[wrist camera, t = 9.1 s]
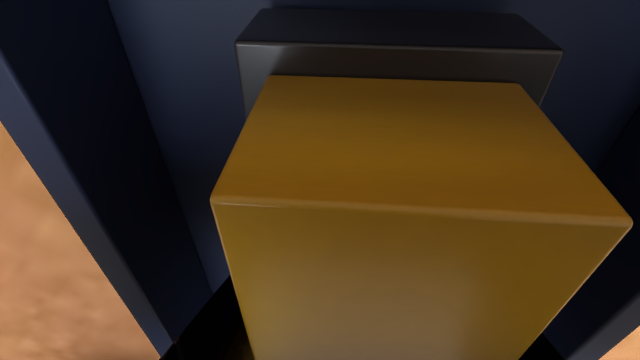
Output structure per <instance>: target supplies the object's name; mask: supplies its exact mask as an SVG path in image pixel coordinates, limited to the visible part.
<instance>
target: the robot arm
mask: <svg viewBox="0 0 640 360" xmlns="http://www.w3.org/2000/svg"><path fill="white" fill-rule="evenodd" d="M159 360H255V359H254V356H253V352H252V349H251V345H250V342H249V338H248V335H247V331H246V328H245V324H244V321H243V317H242V313H241V310H240V306H239V303H238V299H237V296H236V292H235V289H234V285H233V282H232V278H231V275H229V276H228V278H227V279H226V280H225V281H224V282H223V284H222V285H221V286H220V287H219V288H218V290H217V291H216V292H215V293H214V294H213V296H212V297H211V298H210V299H209V300H208V302H207V303H206V304H205V305H204V306H203V308H202V309H201V310H200V311H199V312H198V314H197V315H196V316H195V317H194V318H193V320H192V321H191V322H190V323H189V324H188V326H187V327H186V328H185V329H184V330H183V332H182V333H181V334H180V335H179V336H178V338H177V339H176V340H175V343H172V344H171V346H170V347H169V348H168V349H167V351H166V352H165V353H164V354H163V355H162V357H161V358H160V359H159ZM518 360H566V359H565V358H564V357H563V356H562V355H561V354H560V353H559V351H558V350H557V349H556V348H555V347H554V346H553V344H552V343H551V342H550V341H549V340H548V339H547V338H546V336H545V335H544V334H543V333H541V334H540V335H539V336H538V337H537V339H536V340H535V341H534V342H533V343H532V344H531V346H530V347H529V348H528V349H527V350H526V351H525V352H524V354H523V355H522V356H521V357H520V358H519V359H518Z"/></svg>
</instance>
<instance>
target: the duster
mask: <svg viewBox="0 0 640 360" xmlns="http://www.w3.org/2000/svg"><path fill="white" fill-rule="evenodd" d="M234 48H235V54H236V60H237V67H238V73H239V79H240V86H241V92H242V98H243V105H244V111H245V117H246V122H245V125H244V127H243V129H242V131H241V133H240V135H239V137H238V139H237V141H236V143H235V145H234V148H233V150H232V152H231V154H230V156H229V158H228V160H227V162H226V164H225V166H224V168H223V171H222V173H221V175H220V177H219V179H218V181H217V183H216V185H215V187H214V189H213V191H212V194H211V196H210V204H211V208H212V211H213V215H214V218H215V222H216V225H217V229H218V232H219V236H220V239H221V243H222V246H223V250H224V254H225V257H226V261H227V264H228V268H229V271H230V275H231V278H232V282H233V285H234V289H235V292H236V296H237V299H238V303H239V306H240V310H241V313H242V317H243V321H244V324H245V328H246V331H247V335H248V338H249V342H250V345H251V349H252V352H253V356H254V359H255V360H518V359H519V358H520V357H521V356H522V355H523V354H524V352H525V351H526V350H527V349H528V348H529V347H530V346H531V344H532V343H533V342H534V341H535V340H536V339H537V337H538V336H539V335H540V334H541V333H542V332H543V330H544V329H545V328H546V327H547V326H548V325H549V323H550V322H551V321H552V320H553V319H554V318H555V316H556V315H557V314H558V313H559V312H560V311H561V309H562V308H563V307H564V306H565V305H566V304H567V302H568V301H569V300H570V299H571V298H572V297H573V295H574V294H575V293H576V292H577V291H578V290H579V288H580V287H581V286H582V285H583V284H584V283H585V281H586V280H587V279H588V278H589V277H590V276H591V274H592V273H593V272H594V271H595V270H596V269H597V267H598V266H599V265H600V264H601V263H602V262H603V260H604V259H605V258H606V257H607V256H608V255H609V253H610V252H611V251H612V250H613V249H614V248H615V246H616V245H617V244H618V243H619V242H620V241H621V239H622V238H623V237H624V236H625V235H626V234H627V232H628V231H629V230H630V229H631V228H632V225H633V221H632V218H631V217H630V216H629V215H628V213H627V212H626V211H625V210H624V209H623V207H622V206H621V205H620V204H619V203H618V201H617V200H616V199H615V198H614V197H613V196H612V194H611V193H610V192H609V191H608V190H607V188H606V187H605V186H604V185H603V184H602V182H601V181H600V180H599V179H598V178H597V176H596V175H595V174H594V173H593V172H592V170H591V169H590V168H589V167H588V166H587V164H586V163H585V162H584V161H583V160H582V158H581V157H580V156H579V155H578V154H577V152H576V151H575V150H574V149H573V148H572V146H571V145H570V144H569V143H568V142H567V140H566V139H565V138H564V137H563V136H562V135H561V133H560V132H559V131H558V130H557V129H556V127H555V126H554V125H553V124H552V123H551V121H550V120H549V119H548V118H547V117H546V115H545V114H544V113H543V112H542V111H541V109H540V106H541V104H542V102H543V100H544V97H545V95H546V93H547V91H548V89H549V86H550V84H551V82H552V80H553V78H554V75H555V73H556V71H557V69H558V67H559V64H560V62H561V60H562V58H563V56H564V49H562V48H561V47H560V46H559V45H557V44H556V43H555V42H553V41H552V40H551V39H549V38H548V37H547V36H546V35H544V34H543V33H542V32H540V31H539V30H538V29H537V28H535V27H534V26H533V25H531V24H530V23H529V22H527V21H526V20H525V19H524V18H522V17H521V16H520V15H518V14H508V13H461V12H414V11H368V10H321V9H275V8H262V9H260V10H259V11H258V13H257V14H256V15H255V16H254V17H253V19H252V20H251V21H250V22H249V24H248V25H247V26H246V27H245V29H244V30H243V31H242V32H241V34H240V35H239V36H238V37H237V39H236V40H235V42H234Z"/></svg>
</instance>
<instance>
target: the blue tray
mask: <svg viewBox="0 0 640 360" xmlns="http://www.w3.org/2000/svg"><path fill="white" fill-rule="evenodd" d="M262 8H275V9H321V10H368V11H414V12H461V13H508V14H518V15H520V16H521V17H522V18H524V19H525V20H526V21H527V22H529V23H530V24H531V25H533V26H534V27H535V28H537V29H538V30H539V31H540V32H542V33H543V34H544V35H546V36H547V37H548V38H549V39H551V40H552V41H553V42H555V43H556V44H557V45H559V46H560V47H561V48H562V49H564V56H563V58H562V60H561V62H560V64H559V67H558V69H557V71H556V73H555V75H554V78H553V80H552V82H551V84H550V86H549V89H548V91H547V93H546V95H545V97H544V100H543V102H542V104H541V106H540V109H541V111H542V112H543V113H544V114H545V115H546V117H547V118H548V119H549V120H550V121H551V123H552V124H553V125H554V126H555V127H556V129H557V130H558V131H559V132H560V133H561V135H562V136H563V137H564V138H565V139H566V140H567V142H568V143H569V144H570V145H571V146H572V148H573V149H574V150H575V151H576V152H577V154H578V155H579V156H580V157H581V158H582V160H583V161H584V162H585V163H586V164H587V166H588V167H589V168H590V169H591V170H592V172H593V173H594V174H595V175H596V176H597V178H598V179H599V180H600V181H601V182H602V184H603V185H604V186H605V187H606V188H607V190H608V191H609V192H610V193H611V194H612V196H613V197H614V198H615V199H616V200H617V201H618V203H619V204H620V205H621V206H622V207H623V209H624V210H625V211H626V212H627V213H628V215H629V216H630V217H631V218H632V221H633V225H632V228H631V229H630V230H629V231H628V232H627V234H626V235H625V236H624V237H623V238H622V239H621V241H620V242H619V243H618V244H617V245H616V246H615V248H614V249H613V250H612V251H611V252H610V253H609V255H608V256H607V257H606V258H605V259H604V260H603V262H602V263H601V264H600V265H599V266H598V267H597V269H596V270H595V271H594V272H593V273H592V274H591V276H590V277H589V278H588V279H587V280H586V281H585V283H584V284H583V285H582V286H581V287H580V288H579V290H578V291H577V292H576V293H575V294H574V295H573V297H572V298H571V299H570V300H569V301H568V302H567V304H566V305H565V306H564V307H563V308H562V309H561V311H560V312H559V313H558V314H557V315H556V316H555V318H554V319H553V320H552V321H551V322H550V323H549V325H548V326H547V327H546V328H545V329H544V330H543V332H542V333H543V334H544V335H545V336H546V338H547V339H548V340H549V341H550V342H551V343H552V344H553V346H554V347H555V348H556V349H557V350H558V351H559V353H560V354H561V355H562V356H563V357H564V358H565V359H566V360H599V359H600V358H601V357H602V356H603V355H605V354H606V353H607V352H608V351H609V350H611V349H612V348H613V347H614V346H616V345H617V344H618V343H619V342H620V341H622V340H623V339H624V338H625V337H626V336H628V335H629V334H630V333H631V332H633V331H634V330H635V329H636V328H637V327H639V326H640V0H0V121H1V122H2V124H3V125H4V127H5V128H6V130H7V131H8V133H9V134H10V136H11V137H12V139H13V140H14V142H15V143H16V145H17V146H18V147H19V149H20V150H21V152H22V153H23V155H24V156H25V158H26V159H27V161H28V162H29V164H30V165H31V167H32V168H33V169H34V171H35V172H36V174H37V175H38V177H39V178H40V180H41V181H42V183H43V184H44V186H45V187H46V189H47V190H48V192H49V193H50V194H51V196H52V197H53V199H54V200H55V202H56V203H57V205H58V206H59V208H60V209H61V211H62V212H63V214H64V215H65V217H66V218H67V219H68V221H69V222H70V224H71V225H72V227H73V228H74V230H75V231H76V233H77V234H78V236H79V237H80V239H81V240H82V242H83V243H84V244H85V246H86V247H87V249H88V250H89V252H90V253H91V255H92V256H93V258H94V259H95V261H96V262H97V264H98V265H99V267H100V268H101V269H102V271H103V272H104V274H105V275H106V277H107V278H108V280H109V281H110V283H111V284H112V286H113V287H114V289H115V290H116V291H117V293H118V294H119V296H120V297H121V299H122V300H123V302H124V303H125V305H126V306H127V308H128V309H129V311H130V312H131V314H132V315H133V316H134V318H135V319H136V321H137V322H138V324H139V325H140V327H141V328H142V330H143V331H144V333H145V334H146V336H147V337H148V339H149V340H150V341H151V343H152V344H153V346H154V347H155V349H156V350H157V352H158V353H159V355H160V356H161V357H162V355H163V354H164V353H165V352H166V351H167V349H168V348H169V347H170V346H171V344H172V343H175V340H176V339H177V338H178V336H179V335H180V334H181V333H182V332H183V330H184V329H185V328H186V327H187V326H188V324H189V323H190V322H191V321H192V320H193V318H194V317H195V316H196V315H197V314H198V312H199V311H200V310H201V309H202V308H203V306H204V305H205V304H206V303H207V302H208V300H209V299H210V298H211V297H212V296H213V294H214V293H215V292H216V291H217V290H218V288H219V287H220V286H221V285H222V284H223V282H224V281H225V280H226V279H227V278H228V276H229V275H230V271H229V268H228V264H227V261H226V257H225V254H224V250H223V246H222V243H221V239H220V236H219V232H218V229H217V225H216V222H215V218H214V215H213V211H212V208H211V204H210V196H211V194H212V191H213V189H214V187H215V185H216V183H217V181H218V179H219V177H220V175H221V173H222V171H223V168H224V166H225V164H226V162H227V160H228V158H229V156H230V154H231V152H232V150H233V148H234V145H235V143H236V141H237V139H238V137H239V135H240V133H241V131H242V129H243V127H244V125H245V122H246V117H245V111H244V105H243V98H242V92H241V86H240V79H239V73H238V67H237V60H236V54H235V48H234V42H235V40H236V39H237V37H238V36H239V35H240V34H241V32H242V31H243V30H244V29H245V27H246V26H247V25H248V24H249V22H250V21H251V20H252V19H253V17H254V16H255V15H256V14H257V13H258V11H259V10H260V9H262Z"/></svg>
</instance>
